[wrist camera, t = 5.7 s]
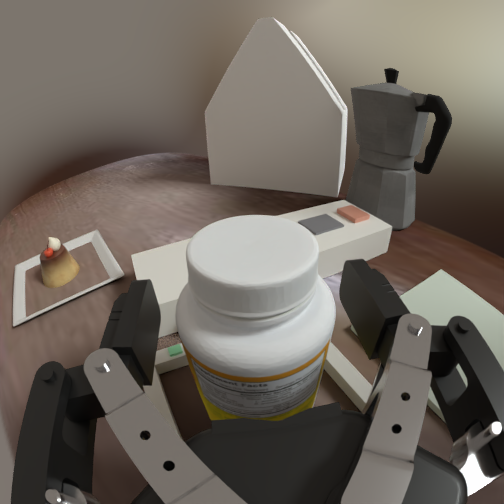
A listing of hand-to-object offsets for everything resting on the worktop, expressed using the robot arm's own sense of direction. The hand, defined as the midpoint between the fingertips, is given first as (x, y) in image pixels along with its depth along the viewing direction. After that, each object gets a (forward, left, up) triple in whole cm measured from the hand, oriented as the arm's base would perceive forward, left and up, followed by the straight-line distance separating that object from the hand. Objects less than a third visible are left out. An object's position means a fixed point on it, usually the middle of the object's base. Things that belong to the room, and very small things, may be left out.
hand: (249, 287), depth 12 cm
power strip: (-6, -8, -7) cm, 12 cm away
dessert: (+13, -18, -8) cm, 24 cm away
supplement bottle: (+1, +2, -7) cm, 7 cm away
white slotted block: (-21, -31, -7) cm, 39 cm away
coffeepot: (-23, -11, -7) cm, 27 cm away
